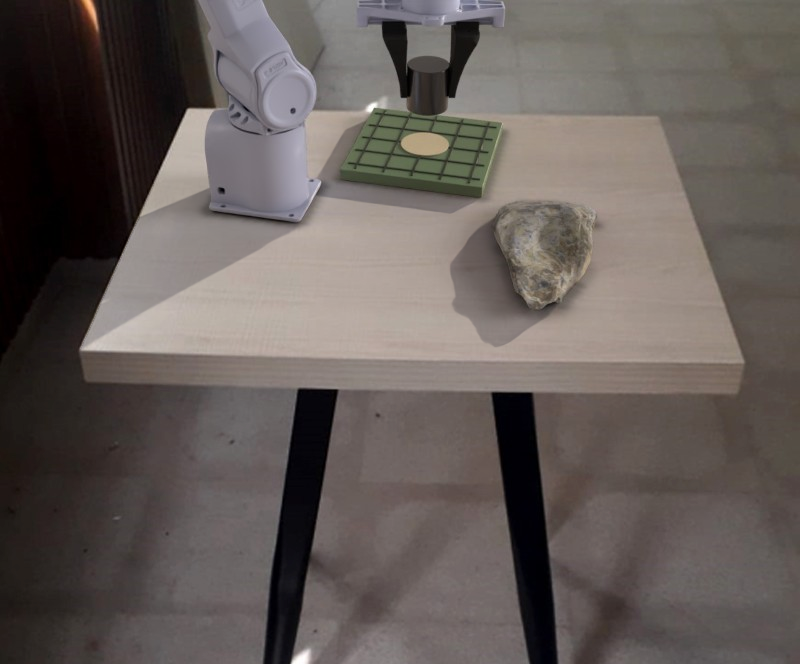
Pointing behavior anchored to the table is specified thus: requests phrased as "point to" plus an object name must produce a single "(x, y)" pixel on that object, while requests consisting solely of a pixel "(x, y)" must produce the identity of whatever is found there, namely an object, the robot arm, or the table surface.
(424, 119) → the board
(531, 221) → the stone
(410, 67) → the dark grey cylinder
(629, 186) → the table surface
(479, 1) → the robot arm
